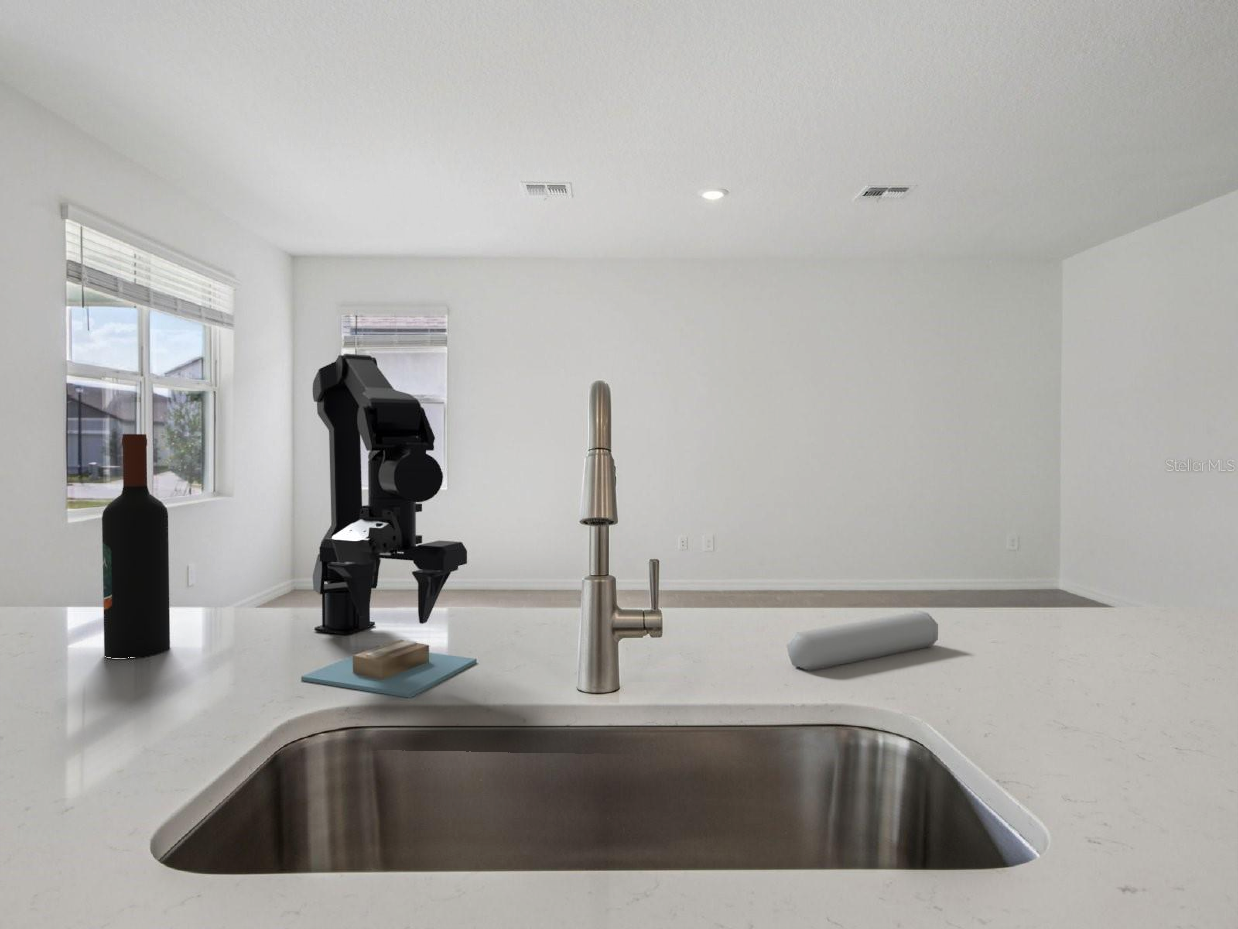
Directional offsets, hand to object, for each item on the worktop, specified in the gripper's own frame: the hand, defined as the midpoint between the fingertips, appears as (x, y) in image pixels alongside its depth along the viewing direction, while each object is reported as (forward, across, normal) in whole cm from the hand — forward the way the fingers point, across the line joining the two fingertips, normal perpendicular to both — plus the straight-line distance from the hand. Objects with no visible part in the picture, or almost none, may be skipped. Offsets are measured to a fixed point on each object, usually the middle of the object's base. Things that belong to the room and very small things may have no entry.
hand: (392, 619), depth 90 cm
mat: (+7, 0, 0) cm, 7 cm away
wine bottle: (+7, -38, -6) cm, 39 cm away
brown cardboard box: (+6, 0, 0) cm, 6 cm away
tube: (+7, +56, +29) cm, 63 cm away
